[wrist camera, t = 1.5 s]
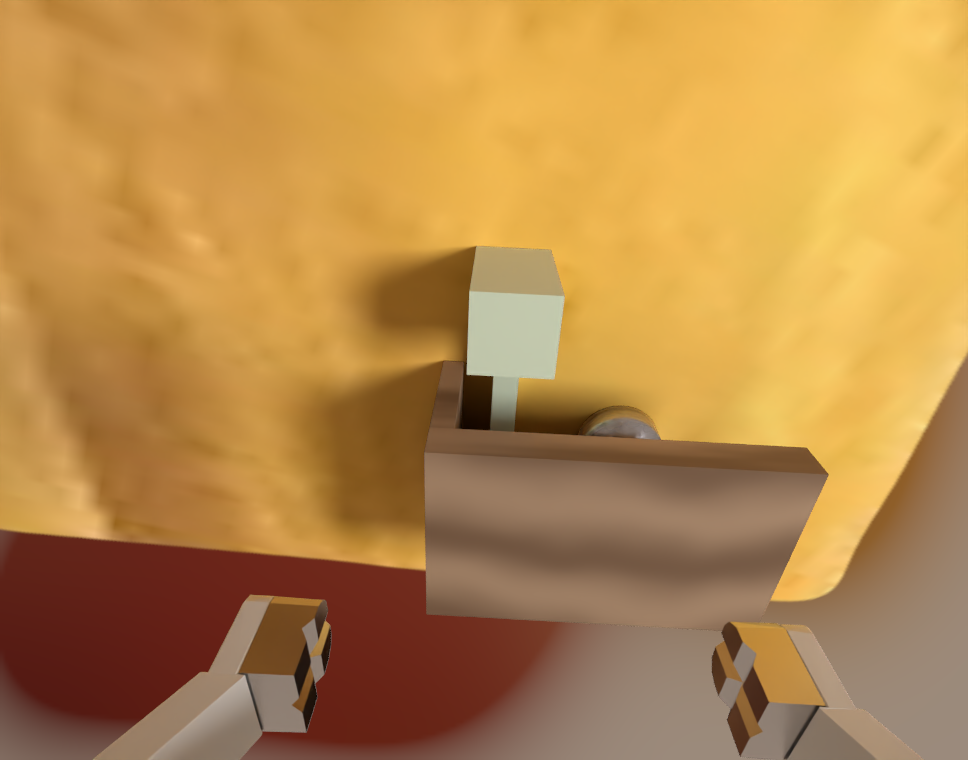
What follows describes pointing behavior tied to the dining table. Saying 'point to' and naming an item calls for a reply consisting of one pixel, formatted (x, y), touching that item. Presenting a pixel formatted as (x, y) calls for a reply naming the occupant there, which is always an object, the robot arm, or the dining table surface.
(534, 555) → the walnut shelf
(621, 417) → the steel puck
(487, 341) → the sage paddle
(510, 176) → the dining table surface
